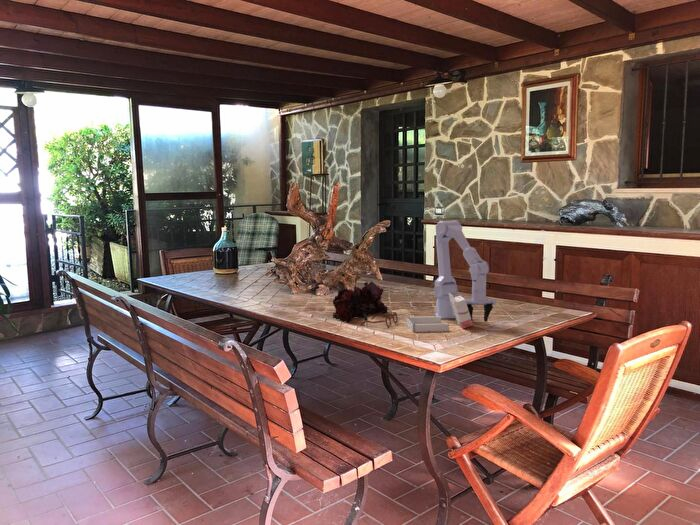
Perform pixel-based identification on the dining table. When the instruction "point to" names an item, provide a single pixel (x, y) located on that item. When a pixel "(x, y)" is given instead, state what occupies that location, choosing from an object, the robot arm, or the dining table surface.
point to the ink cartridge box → (461, 311)
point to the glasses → (384, 320)
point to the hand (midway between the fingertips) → (478, 321)
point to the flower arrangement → (358, 302)
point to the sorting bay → (426, 324)
